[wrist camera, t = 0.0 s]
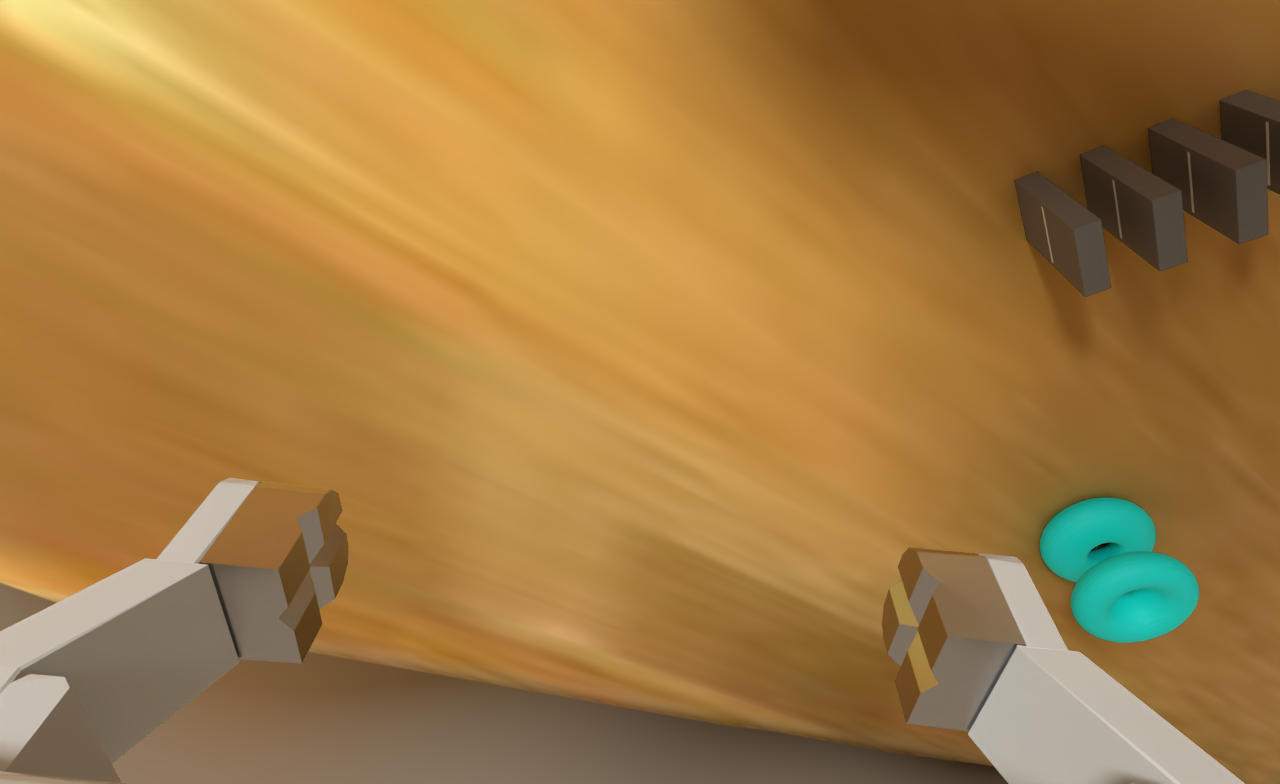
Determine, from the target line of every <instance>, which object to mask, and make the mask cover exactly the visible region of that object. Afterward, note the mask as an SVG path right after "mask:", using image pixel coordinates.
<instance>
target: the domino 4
mask: <svg viewBox="0 0 1280 784" xmlns="http://www.w3.org/2000/svg"><path fill="white" fill-rule="evenodd" d="M1220 114H1221V131H1222V140H1223V141H1225V142H1228V143H1230V144H1232V145H1235V146H1237V147H1239V148H1241V149H1244V150H1246V151H1248V152H1250V153H1253V154H1255V155H1257V156H1259V157H1262V158H1264V159H1266V163H1267V189H1269V190H1272V191H1274V192H1276V193H1278V194H1280V101H1278V100H1275V99H1272V98H1269V97H1266V96H1263V95H1260V94H1257V93H1254V92H1251V91H1248V90H1245V91H1242V92H1240V93H1237V94H1234V95H1232V96H1229V97H1227V98H1224V99H1222V100H1220Z"/></svg>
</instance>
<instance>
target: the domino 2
mask: <svg viewBox="0 0 1280 784" xmlns="http://www.w3.org/2000/svg"><path fill="white" fill-rule="evenodd" d="M1080 160H1081V166H1082V173H1083V179H1084V185H1085V192H1086V198H1087V204H1088V210H1089V211H1090V212H1092V213H1093V214H1094V215H1095V216H1097V217H1098V218H1099V219H1101V222H1102V227H1103V228H1105V229H1106V230H1107V231H1109V232H1110V233H1111V234H1112V235H1114V236H1115V237H1116V238H1118V239H1119V240H1120V241H1121V242H1123V243H1124V244H1125V245H1127V246H1128V247H1129V248H1130V249H1132V250H1133V251H1134V252H1136V253H1137V254H1138V255H1139V256H1141V257H1142V258H1143V259H1145V260H1146V261H1147V262H1148V263H1150V264H1151V265H1152V266H1154V267H1155V268H1156V269H1157V270H1159V271H1162V270H1165V269H1168V268H1171V267H1174V266H1177V265H1180V264H1183V263H1186V262H1188V260H1187V249H1186V238H1185V227H1184V216H1183V205H1182V194H1181V190H1179V189H1178V188H1176V187H1174V186H1172V185H1171V184H1169V183H1167V182H1166V181H1164V180H1162V179H1160V178H1159V177H1157V176H1155V175H1154V174H1152V173H1150V172H1148V171H1147V170H1145V169H1143V168H1141V167H1140V166H1138V165H1136V164H1135V163H1133V162H1131V161H1129V160H1128V159H1126V158H1124V157H1123V156H1121V155H1119V154H1117V153H1116V152H1114V151H1112V150H1110V149H1109V148H1107V147H1105V146H1101V147H1099V148H1096V149H1094V150H1091V151H1088V152H1086V153H1083V154H1081V155H1080Z"/></svg>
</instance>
